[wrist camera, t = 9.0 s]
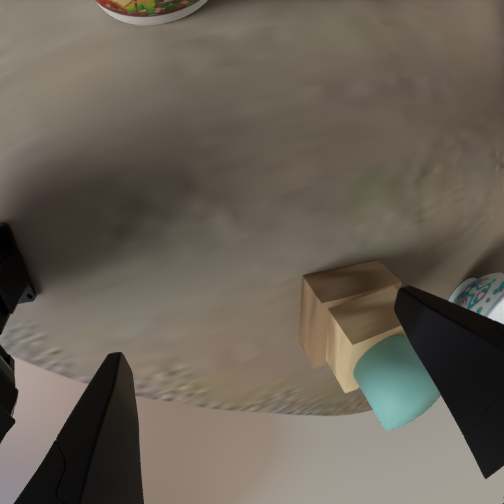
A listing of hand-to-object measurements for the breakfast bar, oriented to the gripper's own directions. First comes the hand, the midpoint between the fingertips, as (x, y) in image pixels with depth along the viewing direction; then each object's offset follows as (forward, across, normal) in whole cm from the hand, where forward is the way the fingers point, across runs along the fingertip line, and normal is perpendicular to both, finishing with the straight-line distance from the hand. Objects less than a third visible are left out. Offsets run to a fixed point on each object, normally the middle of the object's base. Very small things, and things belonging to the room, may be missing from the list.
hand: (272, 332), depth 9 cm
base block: (+13, -10, +12) cm, 20 cm away
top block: (+9, -10, +12) cm, 18 cm away
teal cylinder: (+5, -10, +12) cm, 16 cm away
